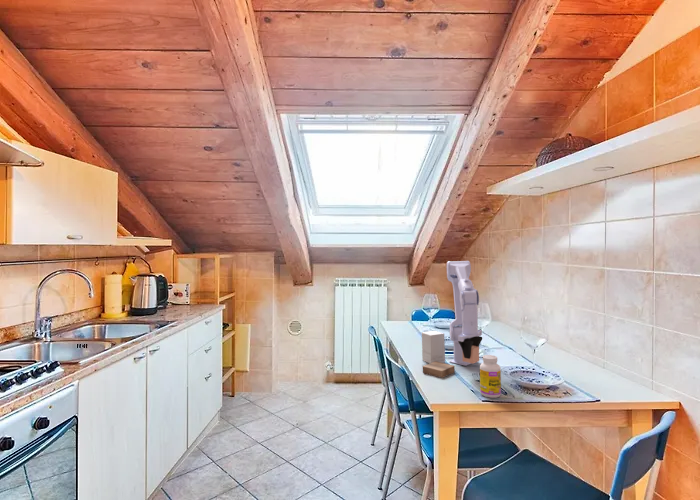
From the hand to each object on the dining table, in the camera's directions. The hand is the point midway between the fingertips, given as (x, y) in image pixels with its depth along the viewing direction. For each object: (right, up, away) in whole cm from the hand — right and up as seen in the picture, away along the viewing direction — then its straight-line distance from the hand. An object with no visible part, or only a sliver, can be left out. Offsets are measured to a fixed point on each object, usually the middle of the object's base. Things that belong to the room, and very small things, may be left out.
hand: (470, 356), depth 149 cm
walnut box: (-11, -8, +6) cm, 15 cm away
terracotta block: (0, -2, 0) cm, 2 cm away
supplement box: (-10, -8, +21) cm, 24 cm away
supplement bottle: (+1, -8, -18) cm, 20 cm away
